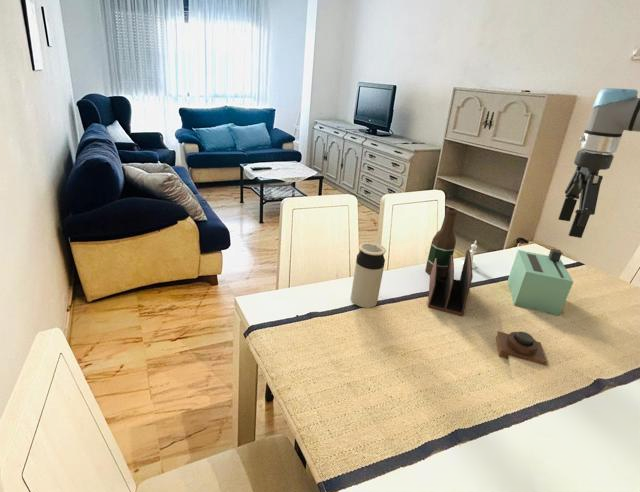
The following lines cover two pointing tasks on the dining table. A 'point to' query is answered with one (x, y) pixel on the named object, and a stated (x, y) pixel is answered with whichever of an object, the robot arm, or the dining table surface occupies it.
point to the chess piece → (473, 254)
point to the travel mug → (368, 274)
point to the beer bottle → (443, 244)
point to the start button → (524, 338)
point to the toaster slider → (555, 255)
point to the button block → (519, 348)
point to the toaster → (539, 283)
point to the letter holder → (450, 287)
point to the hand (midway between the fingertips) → (569, 228)
